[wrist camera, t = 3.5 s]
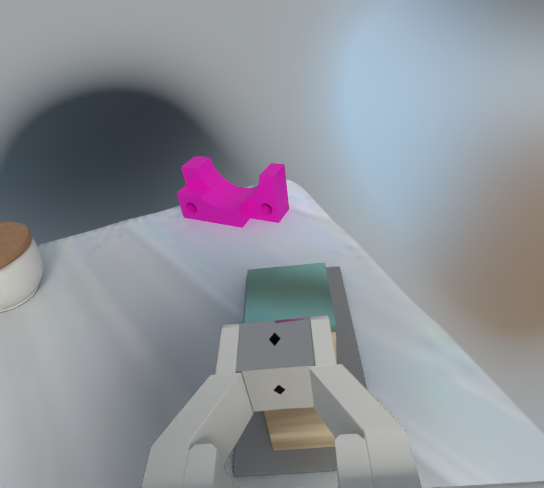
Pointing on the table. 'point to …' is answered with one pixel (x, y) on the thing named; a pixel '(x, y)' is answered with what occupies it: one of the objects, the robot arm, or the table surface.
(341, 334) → the mat
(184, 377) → the table surface
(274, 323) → the robot arm
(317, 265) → the tall block
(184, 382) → the table surface
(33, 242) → the lidded jar
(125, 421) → the table surface
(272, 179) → the toy block
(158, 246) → the table surface
